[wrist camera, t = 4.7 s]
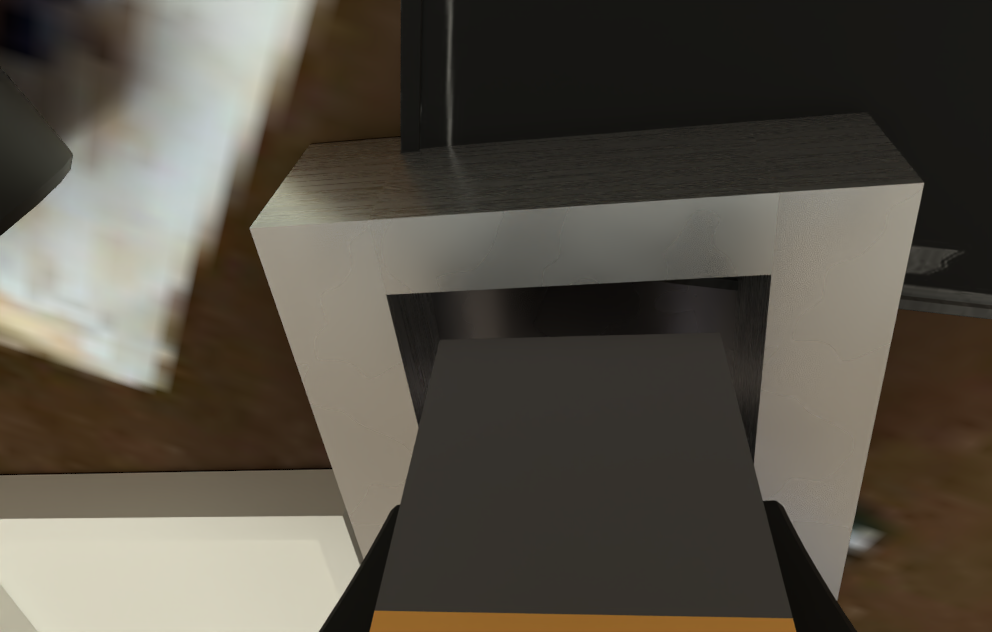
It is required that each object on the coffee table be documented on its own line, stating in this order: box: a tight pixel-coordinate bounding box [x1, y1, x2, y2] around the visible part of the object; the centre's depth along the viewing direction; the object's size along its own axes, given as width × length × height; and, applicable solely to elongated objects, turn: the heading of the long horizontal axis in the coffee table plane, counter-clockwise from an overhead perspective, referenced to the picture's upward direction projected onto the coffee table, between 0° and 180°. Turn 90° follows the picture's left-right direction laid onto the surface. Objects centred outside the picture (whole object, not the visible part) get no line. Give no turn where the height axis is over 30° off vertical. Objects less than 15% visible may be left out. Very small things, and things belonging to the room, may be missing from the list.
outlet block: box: [250, 112, 924, 601], centre depth 17 cm, size 18×9×3 cm, turn 7°
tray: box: [0, 469, 364, 632], centre depth 21 cm, size 10×12×1 cm
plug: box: [370, 333, 796, 632], centre depth 10 cm, size 5×4×5 cm
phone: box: [401, 0, 992, 319], centre depth 12 cm, size 8×1×15 cm
